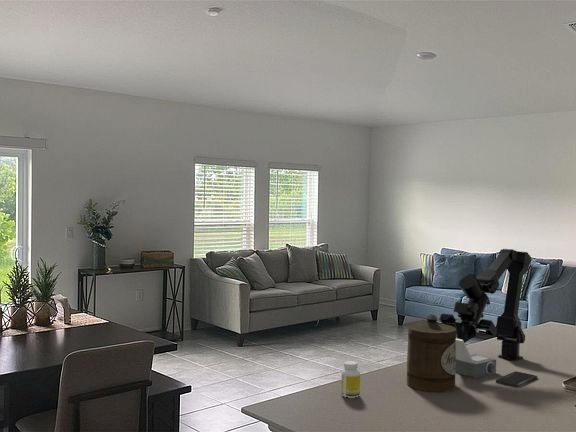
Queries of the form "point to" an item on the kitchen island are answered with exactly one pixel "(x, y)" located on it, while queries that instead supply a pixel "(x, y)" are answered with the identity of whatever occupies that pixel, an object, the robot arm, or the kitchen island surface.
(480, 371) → the camera case
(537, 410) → the kitchen island surface
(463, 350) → the side door
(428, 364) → the wooden container
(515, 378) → the phone
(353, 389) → the supplement bottle
